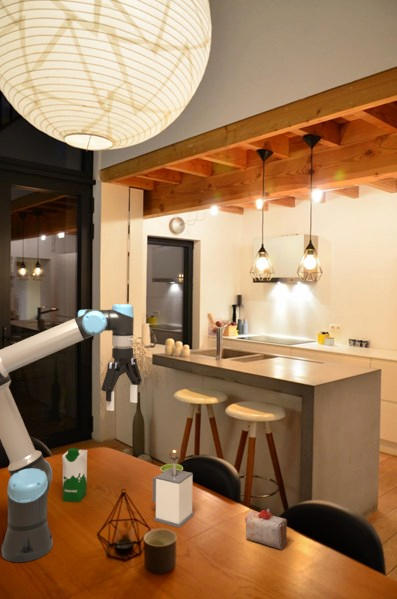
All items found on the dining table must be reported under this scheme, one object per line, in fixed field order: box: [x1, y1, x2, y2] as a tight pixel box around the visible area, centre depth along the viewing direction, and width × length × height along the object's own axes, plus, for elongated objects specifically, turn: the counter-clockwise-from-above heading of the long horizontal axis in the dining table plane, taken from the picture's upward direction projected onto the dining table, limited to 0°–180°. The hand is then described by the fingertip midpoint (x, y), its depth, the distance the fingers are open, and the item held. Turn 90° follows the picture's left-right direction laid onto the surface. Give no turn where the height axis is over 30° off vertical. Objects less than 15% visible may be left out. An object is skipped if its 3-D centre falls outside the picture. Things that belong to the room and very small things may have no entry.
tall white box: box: [152, 468, 194, 528], centre depth 167 cm, size 10×14×16 cm
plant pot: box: [160, 463, 184, 474], centre depth 192 cm, size 9×9×9 cm
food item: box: [244, 508, 288, 550], centre depth 151 cm, size 14×8×10 cm, turn 60°
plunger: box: [168, 447, 181, 476], centre depth 166 cm, size 7×7×20 cm
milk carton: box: [61, 447, 88, 503], centre depth 182 cm, size 9×9×20 cm
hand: (122, 406), depth 165 cm, fingers open, 13 cm apart
